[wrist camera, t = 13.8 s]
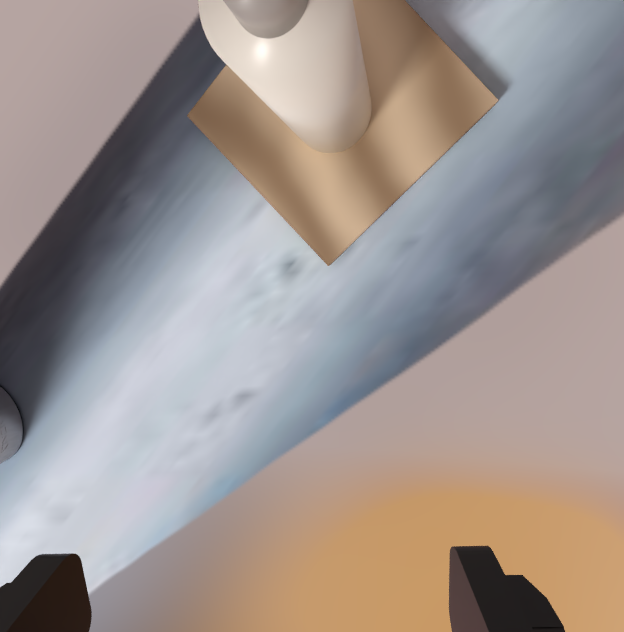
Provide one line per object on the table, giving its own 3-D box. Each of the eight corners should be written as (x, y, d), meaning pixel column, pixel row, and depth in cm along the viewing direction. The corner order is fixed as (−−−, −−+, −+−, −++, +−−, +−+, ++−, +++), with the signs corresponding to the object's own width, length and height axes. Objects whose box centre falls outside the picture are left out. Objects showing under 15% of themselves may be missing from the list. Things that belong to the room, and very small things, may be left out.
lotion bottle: (294, 156, 29) (177, 66, 13) (290, 72, 28) (158, -131, 12) (372, 149, 28) (342, 42, 12) (371, 62, 27) (336, -176, 11)
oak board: (330, 264, 31) (328, 265, 30) (193, 119, 31) (186, 115, 30) (494, 105, 26) (498, 100, 25) (336, -64, 26) (334, -75, 25)
